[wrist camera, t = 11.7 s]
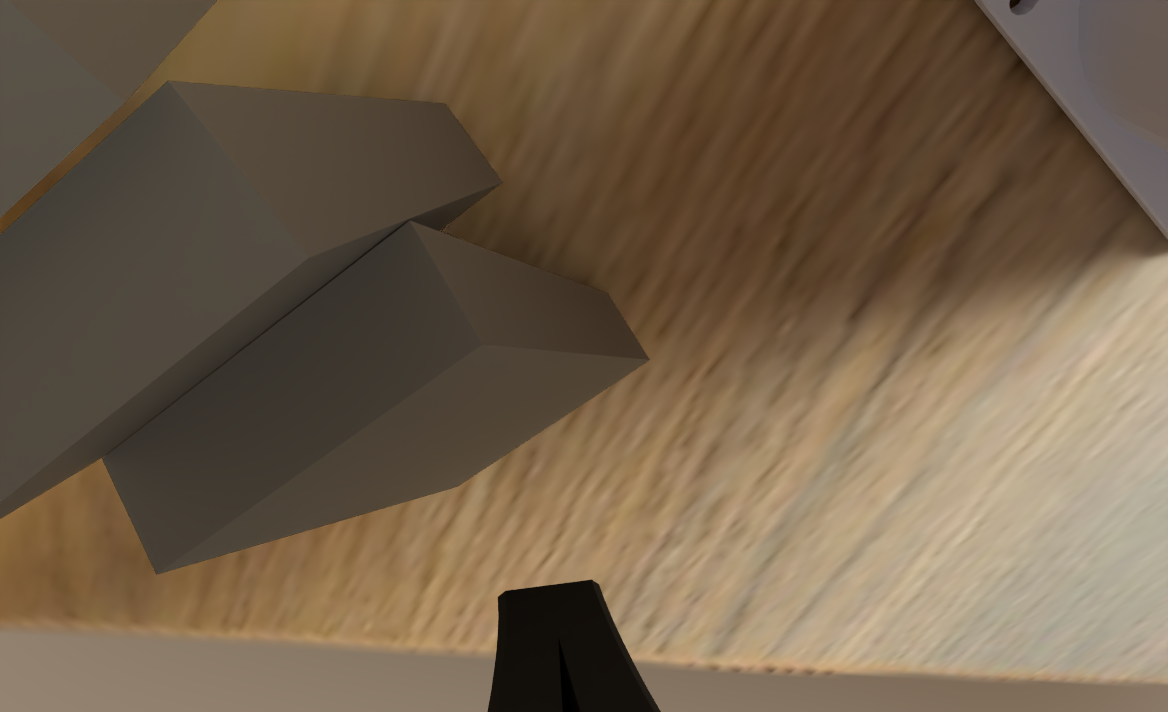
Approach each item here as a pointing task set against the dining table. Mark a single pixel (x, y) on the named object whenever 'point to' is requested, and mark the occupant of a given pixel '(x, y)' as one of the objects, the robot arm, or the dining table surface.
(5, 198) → the domino
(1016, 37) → the robot arm
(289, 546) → the dining table surface
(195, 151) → the domino
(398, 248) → the domino
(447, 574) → the dining table surface
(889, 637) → the dining table surface
